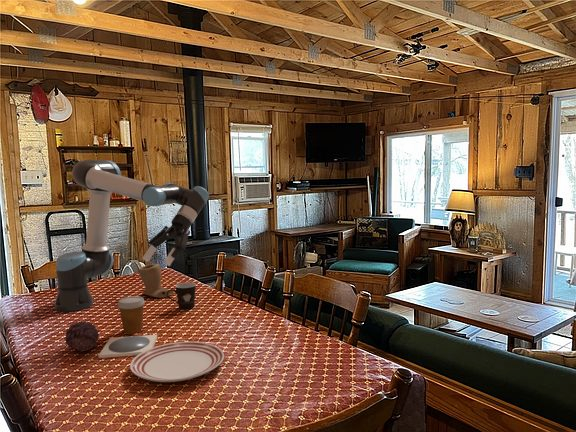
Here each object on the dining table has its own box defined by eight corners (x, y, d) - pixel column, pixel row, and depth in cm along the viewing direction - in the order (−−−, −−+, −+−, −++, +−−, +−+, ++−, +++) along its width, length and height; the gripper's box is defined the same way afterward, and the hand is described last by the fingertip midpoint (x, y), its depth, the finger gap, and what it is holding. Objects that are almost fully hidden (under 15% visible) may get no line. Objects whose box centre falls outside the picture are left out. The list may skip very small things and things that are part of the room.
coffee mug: (199, 304, 189) (198, 282, 188) (193, 311, 180) (192, 288, 179) (173, 304, 190) (172, 282, 189) (166, 310, 182) (165, 287, 180)
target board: (98, 358, 137) (98, 354, 137) (110, 340, 151) (110, 337, 150) (150, 354, 139) (150, 350, 139) (157, 337, 153) (157, 334, 153)
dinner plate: (149, 348, 144) (149, 339, 143) (231, 348, 143) (230, 339, 143) (114, 391, 117) (113, 379, 116) (214, 391, 116) (214, 379, 115)
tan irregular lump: (135, 295, 205) (134, 264, 203) (158, 289, 213) (157, 260, 212) (151, 301, 194) (149, 269, 193) (174, 295, 203) (173, 264, 201)
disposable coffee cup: (151, 327, 162) (150, 297, 161) (135, 337, 153) (133, 304, 152) (131, 325, 165) (129, 294, 164) (113, 334, 156) (111, 302, 155)
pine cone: (105, 356, 138) (103, 326, 137) (71, 365, 132) (69, 333, 131) (93, 339, 152) (91, 311, 151) (62, 346, 146) (60, 318, 145)
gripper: (210, 226, 170) (182, 271, 160) (170, 223, 185) (142, 264, 175) (199, 214, 165) (170, 259, 155) (159, 212, 180) (130, 253, 170)
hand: (155, 262), depth 165 cm, fingers open, 13 cm apart
